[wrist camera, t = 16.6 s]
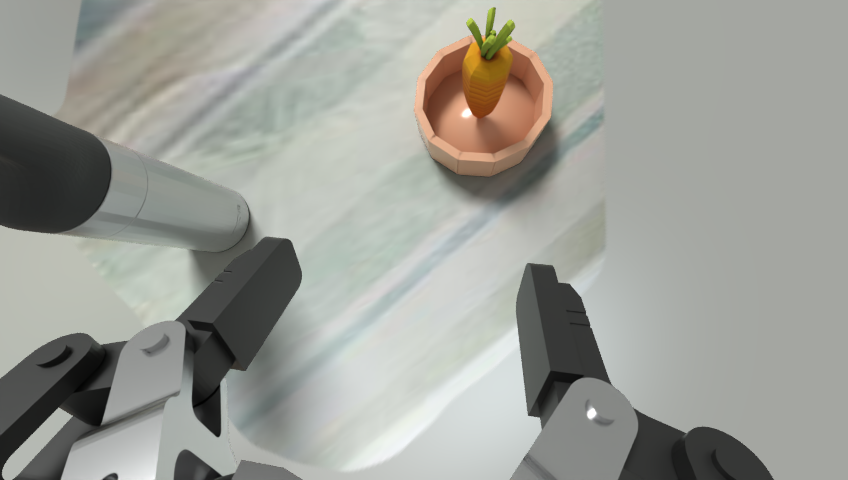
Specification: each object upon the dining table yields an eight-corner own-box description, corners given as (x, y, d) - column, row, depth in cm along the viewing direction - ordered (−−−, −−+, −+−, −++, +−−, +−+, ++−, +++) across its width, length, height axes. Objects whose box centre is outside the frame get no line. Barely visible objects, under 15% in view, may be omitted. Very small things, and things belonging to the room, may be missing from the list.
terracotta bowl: (414, 171, 41) (408, 156, 36) (426, 62, 43) (422, 34, 38) (536, 179, 39) (548, 165, 34) (543, 65, 41) (555, 36, 36)
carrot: (452, 117, 40) (451, 24, 25) (479, 91, 40) (492, -17, 26) (480, 141, 39) (495, 59, 25) (506, 114, 40) (537, 16, 25)
